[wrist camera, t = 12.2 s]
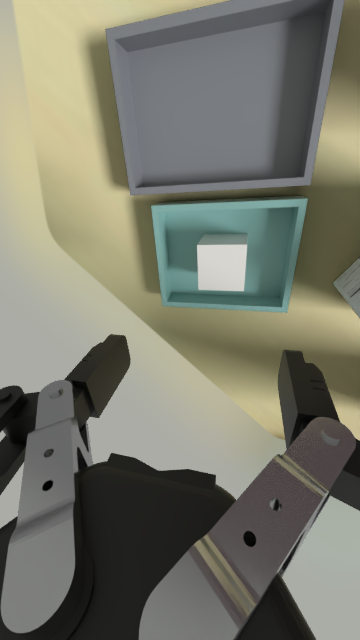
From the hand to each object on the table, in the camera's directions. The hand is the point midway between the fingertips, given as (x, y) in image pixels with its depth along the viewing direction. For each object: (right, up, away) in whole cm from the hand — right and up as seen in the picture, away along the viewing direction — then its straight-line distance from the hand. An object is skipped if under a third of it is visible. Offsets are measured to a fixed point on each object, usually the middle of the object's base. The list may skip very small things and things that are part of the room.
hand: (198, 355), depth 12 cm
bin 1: (+2, +20, +9) cm, 22 cm away
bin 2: (+4, +9, +15) cm, 18 cm away
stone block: (+4, +9, +14) cm, 18 cm away
